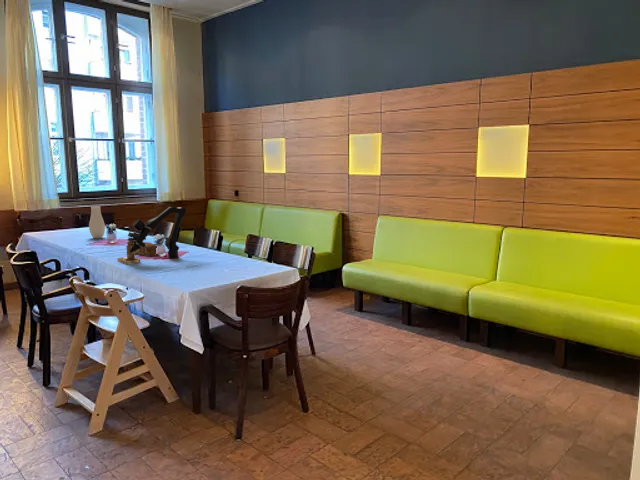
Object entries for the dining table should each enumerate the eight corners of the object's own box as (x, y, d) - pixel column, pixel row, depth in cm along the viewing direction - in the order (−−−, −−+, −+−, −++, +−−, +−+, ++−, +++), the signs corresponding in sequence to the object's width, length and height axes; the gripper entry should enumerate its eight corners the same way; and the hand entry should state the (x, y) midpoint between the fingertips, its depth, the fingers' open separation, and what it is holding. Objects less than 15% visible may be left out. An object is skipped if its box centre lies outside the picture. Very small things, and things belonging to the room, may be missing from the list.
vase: (106, 238, 457) (104, 206, 452) (90, 239, 450) (88, 207, 445) (104, 236, 469) (102, 205, 464) (89, 237, 462) (86, 206, 457)
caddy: (131, 259, 361) (130, 256, 360) (140, 263, 349) (140, 259, 349) (117, 261, 354) (117, 258, 353) (126, 265, 342) (126, 261, 342)
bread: (132, 254, 382) (131, 242, 380) (143, 252, 391) (143, 240, 389) (148, 257, 372) (147, 244, 371) (159, 255, 381) (158, 242, 380)
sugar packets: (128, 260, 357) (128, 257, 356) (130, 260, 355) (130, 257, 354) (122, 261, 354) (122, 257, 353) (124, 261, 352) (124, 258, 351)
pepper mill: (135, 259, 351) (134, 240, 349) (134, 261, 346) (133, 241, 344) (128, 259, 350) (126, 240, 348) (126, 261, 345) (125, 241, 343)
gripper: (129, 226, 354) (115, 243, 348) (140, 229, 341) (125, 246, 335) (140, 236, 361) (126, 252, 355) (151, 239, 347) (137, 256, 342)
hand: (128, 251), depth 346 cm, fingers closed on pepper mill, 5 cm apart
